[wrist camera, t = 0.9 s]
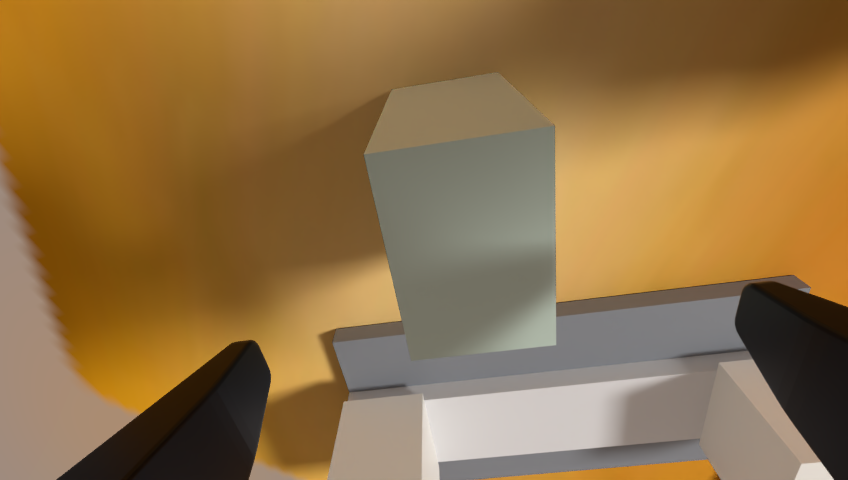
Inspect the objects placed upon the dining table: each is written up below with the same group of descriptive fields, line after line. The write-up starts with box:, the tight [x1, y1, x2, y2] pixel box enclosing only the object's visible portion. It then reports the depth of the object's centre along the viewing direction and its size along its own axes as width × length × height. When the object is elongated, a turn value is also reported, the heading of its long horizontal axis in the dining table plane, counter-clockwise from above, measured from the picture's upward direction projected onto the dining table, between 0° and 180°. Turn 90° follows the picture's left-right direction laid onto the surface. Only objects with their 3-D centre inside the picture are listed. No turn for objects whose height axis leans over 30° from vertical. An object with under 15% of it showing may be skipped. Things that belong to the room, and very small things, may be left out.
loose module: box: [364, 72, 556, 361], centre depth 14 cm, size 4×6×8 cm, turn 9°
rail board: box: [327, 275, 834, 480], centre depth 20 cm, size 22×12×7 cm, turn 99°
